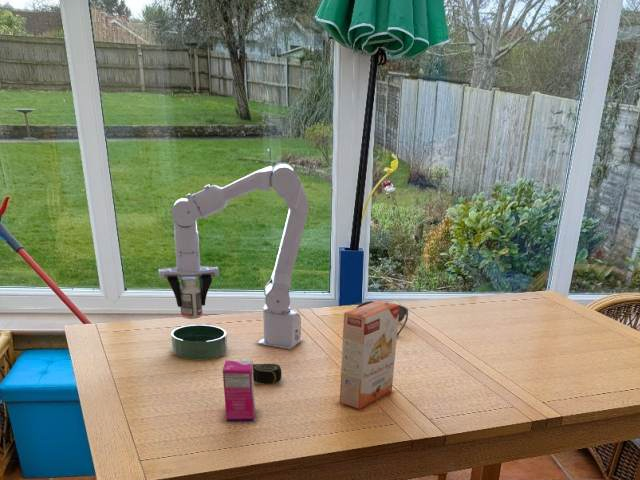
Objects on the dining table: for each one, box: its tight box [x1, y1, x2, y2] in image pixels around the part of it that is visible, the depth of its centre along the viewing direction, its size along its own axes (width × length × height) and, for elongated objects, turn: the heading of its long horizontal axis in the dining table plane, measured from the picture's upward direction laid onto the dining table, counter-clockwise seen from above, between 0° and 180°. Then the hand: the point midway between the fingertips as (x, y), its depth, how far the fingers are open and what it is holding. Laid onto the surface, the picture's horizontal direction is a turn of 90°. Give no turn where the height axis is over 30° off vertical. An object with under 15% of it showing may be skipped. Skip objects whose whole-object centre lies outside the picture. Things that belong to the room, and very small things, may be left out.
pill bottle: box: [180, 276, 203, 320], centre depth 185 cm, size 5×5×10 cm
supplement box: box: [222, 359, 256, 423], centre depth 150 cm, size 6×6×12 cm
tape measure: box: [253, 363, 282, 385], centre depth 169 cm, size 7×7×4 cm
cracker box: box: [339, 299, 400, 410], centre depth 160 cm, size 14×6×21 cm, turn 148°
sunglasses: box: [354, 300, 409, 338], centre depth 211 cm, size 16×17×5 cm
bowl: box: [170, 324, 228, 361], centre depth 183 cm, size 13×13×5 cm
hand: (191, 305), depth 186 cm, fingers closed on pill bottle, 5 cm apart
